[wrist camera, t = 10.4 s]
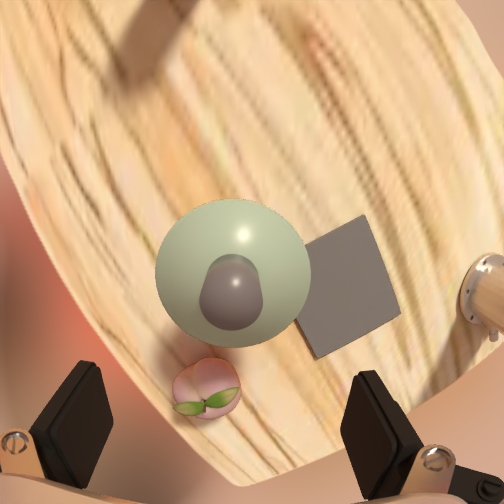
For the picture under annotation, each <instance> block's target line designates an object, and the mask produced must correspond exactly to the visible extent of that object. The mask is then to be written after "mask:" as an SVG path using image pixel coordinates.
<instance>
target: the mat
mask: <svg viewBox="0 0 504 504" xmlns="http://www.w3.org/2000/svg"><path fill="white" fill-rule="evenodd" d="M305 248H306V250H307V253H308V257H309V261H310V268H311V282H310V288H309V292H308V295H307V299H306V301H305V303H304V306H303V308H302V309H301V311H300V313H299V314H298V316H297V317H296V319H297V321H298V323H299V325H300V327H301V328H302V330H303V332H304V334H305V336H306V338H307V340H308V342H309V344H310V345H311V347H312V349H313V351H314V353H315V355H316V357H317V359H318V358H320V357H322V356H324V355H326V354H328V353H330V352H332V351H334V350H336V349H338V348H340V347H342V346H344V345H346V344H348V343H350V342H351V341H353V340H355V339H357V338H359V337H361V336H363V335H364V334H366V333H368V332H370V331H372V330H373V329H375V328H377V327H379V326H380V325H382V324H384V323H386V322H387V321H389V320H391V319H392V318H394V317H396V316H397V315H399V314H401V311H400V308H399V305H398V302H397V299H396V296H395V293H394V290H393V287H392V284H391V281H390V279H389V276H388V273H387V270H386V267H385V265H384V262H383V259H382V257H381V254H380V251H379V249H378V246H377V244H376V241H375V239H374V236H373V234H372V231H371V229H370V226H369V224H368V221H367V219H366V216H365V215H361V216H359V217H357V218H356V219H354V220H352V221H350V222H348V223H346V224H344V225H342V226H340V227H339V228H337V229H335V230H333V231H331V232H329V233H327V234H325V235H323V236H321V237H320V238H318V239H316V240H314V241H312V242H310V243H308V244H306V245H305Z"/></svg>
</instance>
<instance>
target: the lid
mask: <svg viewBox="0 0 504 504" xmlns="http://www.w3.org/2000/svg"><path fill="white" fill-rule="evenodd" d="M155 278H156V286H157V290H158V294H159V297H160V300H161V302H162V304H163V306H164V308H165V310H166V311H167V313H168V314H169V316H170V317H171V318H172V320H173V321H174V322H175V323H176V324H177V325H178V326H179V327H180V328H181V329H183V330H184V331H185V332H186V333H188V334H189V335H191V336H193V337H194V338H196V339H198V340H200V341H202V342H205V343H208V344H211V345H215V346H220V347H228V348H240V347H248V346H253V345H256V344H260V343H262V342H265V341H267V340H269V339H271V338H273V337H275V336H277V335H278V334H279V333H281V332H282V331H283V330H285V329H286V328H287V327H288V326H289V325H290V324H291V323H292V322H293V321H294V319H295V318H296V317H297V316H298V314H299V313H300V311H301V309H302V308H303V306H304V303H305V301H306V299H307V295H308V292H309V288H310V282H311V268H310V261H309V257H308V253H307V250H306V248H305V245H304V243H303V241H302V239H301V238H300V236H299V234H298V233H297V232H296V230H295V229H294V228H293V226H292V225H291V224H290V223H289V222H288V221H287V220H286V219H285V218H283V217H282V216H281V215H280V214H278V213H277V212H276V211H274V210H272V209H270V208H269V207H267V206H265V205H262V204H259V203H257V202H253V201H249V200H244V199H222V200H216V201H212V202H209V203H206V204H203V205H201V206H199V207H197V208H195V209H193V210H192V211H190V212H189V213H187V214H186V215H184V216H183V217H182V218H181V219H180V220H179V221H178V222H176V223H175V225H174V226H173V227H172V228H171V229H170V230H169V232H168V233H167V235H166V237H165V238H164V240H163V242H162V244H161V247H160V249H159V252H158V256H157V260H156V267H155Z"/></svg>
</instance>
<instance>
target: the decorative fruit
mask: <svg viewBox="0 0 504 504" xmlns="http://www.w3.org/2000/svg"><path fill="white" fill-rule="evenodd" d="M172 390H173V395H174V398H175V400H176V402H177V403H178V404H177V405H175V406H174V407H173V409H174V410H175V411H177V412H178V413H180V414H183V415H187V416H195V417H197V418H201V419H216V418H219V417H222V416H224V415H226V414H228V413H229V412H231V411H232V410H233V409H234V408H235V407H236V405H237V404H238V402H239V400H240V397H241V384H240V381H239V378H238V375H237V373H236V371H235V369H234V367H233V366H232V365H231V364H230V363H229V362H227V361H225V360H223V359H220V358H205V359H201V360H199V361H198V362H197V363H196V364H193V365H190V366H188V367H186V368H185V369H184V370H183V371H181V372H180V373H179V374H178V375H177V377H176V378H175V380H174V382H173V386H172Z"/></svg>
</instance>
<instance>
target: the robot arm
mask: <svg viewBox="0 0 504 504" xmlns="http://www.w3.org/2000/svg"><path fill="white" fill-rule="evenodd" d="M460 308H461V312H462V314H463V316H464V317H465V318H466V319H467V320H468V321H469V322H471V323H473V324H483V323H484V324H486V325H487V328H488V329H489V340H490V341H491V342H495V341H497V340H498V331H499V332H500V333H501V334H503V335H504V257H503V256H502V255H499V254H497V253H488V254H485V255H483V256H482V257H480V258H479V259H478V260H477V261H476V262H475V263H474V264H473V265H472V267H471V268H470V270H469V271H468V273H467V275H466V277H465V279H464V282H463V285H462V288H461V294H460ZM112 427H113V416H112V413H111V409H110V405H109V402H108V398H107V394H106V391H105V387H104V383H103V379H102V374H101V370H100V368H99V367H97V366H96V364H95V363H94V362H88V361H83V360H80V361H79V362H78V363H77V365H76V366H75V367H74V369H73V370H72V371H71V372H70V374H69V375H68V376H67V378H66V379H65V380H64V382H63V383H62V385H61V386H60V387H59V389H58V390H57V391H56V393H55V394H54V395H53V397H52V398H51V400H50V401H49V402H48V404H47V405H46V406H45V408H44V409H43V411H42V412H41V414H40V415H39V417H38V418H37V419H36V421H35V422H34V424H33V425H32V426H31V429H30V430H29V431H28V432H27V431H25V430H23V429H18V428H15V429H10V430H7V431H5V432H4V433H2V435H1V436H0V504H143V503H138V502H133V501H128V500H123V499H118V498H114V497H109V496H105V495H101V494H97V493H93V492H89V491H85V490H82V489H83V488H84V489H85V488H86V487H87V486H88V483H89V481H90V479H91V476H92V474H93V471H94V469H95V466H96V464H97V462H98V459H99V457H100V455H101V452H102V450H103V447H104V445H105V443H106V441H107V438H108V436H109V434H110V431H111V429H112ZM340 432H341V436H342V439H343V442H344V445H345V448H346V450H347V453H348V456H349V459H350V462H351V464H352V467H353V470H354V473H355V476H356V479H357V481H358V485H359V487H360V490H361V493H362V496H363V498H364V499H368V501H365V502H360V503H354V504H504V482H503V481H502V480H501V479H500V478H498V477H496V476H493V475H489V474H486V473H482V472H478V471H474V470H471V469H468V468H465V467H461V466H458V465H455V462H456V459H455V456H454V454H453V453H452V451H451V450H449V449H448V448H446V447H444V446H442V445H436V444H434V445H428V446H425V447H424V445H423V443H422V442H421V440H420V438H419V437H418V435H417V433H416V432H415V430H414V429H413V427H412V425H411V424H410V422H409V421H408V419H407V417H406V415H405V414H404V412H403V410H402V409H401V407H400V406H399V404H398V403H397V402H396V401H394V400H393V398H392V396H391V395H390V393H389V391H388V390H387V388H386V387H385V385H384V383H383V382H382V380H381V379H380V377H379V376H378V374H377V372H376V371H375V370H369V371H360V372H359V373H358V375H356V376H354V378H353V382H352V386H351V390H350V394H349V398H348V401H347V405H346V409H345V412H344V416H343V419H342V423H341V427H340Z"/></svg>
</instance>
